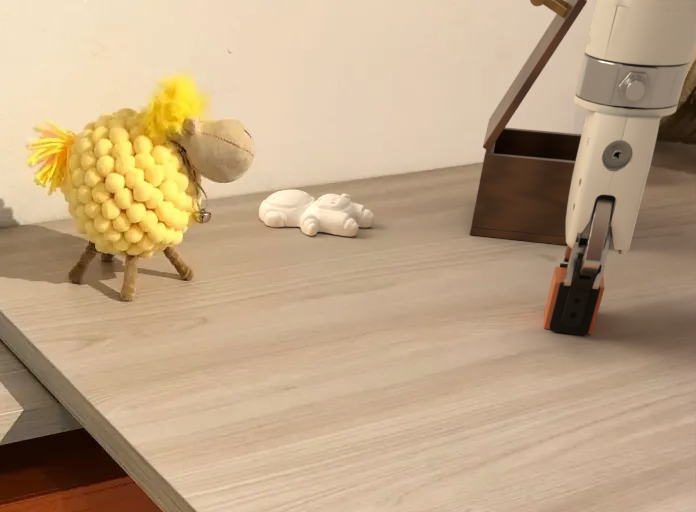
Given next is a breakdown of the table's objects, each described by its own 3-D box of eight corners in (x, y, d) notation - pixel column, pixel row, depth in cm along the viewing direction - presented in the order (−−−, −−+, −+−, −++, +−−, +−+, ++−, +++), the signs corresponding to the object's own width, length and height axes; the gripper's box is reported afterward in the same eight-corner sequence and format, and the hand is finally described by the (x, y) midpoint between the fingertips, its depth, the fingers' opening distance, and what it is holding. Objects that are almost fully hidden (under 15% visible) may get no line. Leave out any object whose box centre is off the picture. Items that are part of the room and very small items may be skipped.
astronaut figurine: (342, 244, 104) (345, 213, 102) (243, 220, 109) (245, 190, 107) (382, 224, 110) (386, 193, 108) (286, 202, 115) (289, 173, 113)
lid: (584, -16, 102) (546, -42, 102) (587, 1, 93) (545, -28, 92) (495, 123, 112) (459, 100, 111) (489, 151, 102) (450, 126, 102)
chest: (601, 214, 114) (621, 137, 110) (604, 249, 105) (627, 167, 100) (476, 201, 117) (491, 126, 112) (469, 235, 108) (484, 154, 103)
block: (590, 317, 91) (603, 271, 88) (591, 334, 88) (604, 287, 85) (544, 312, 91) (555, 266, 89) (543, 328, 88) (555, 282, 86)
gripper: (692, 113, 71) (616, 366, 83) (672, 68, 83) (609, 293, 95) (579, 103, 72) (520, 353, 84) (576, 61, 85) (525, 284, 96)
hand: (568, 319), depth 89 cm, fingers closed on block, 4 cm apart
